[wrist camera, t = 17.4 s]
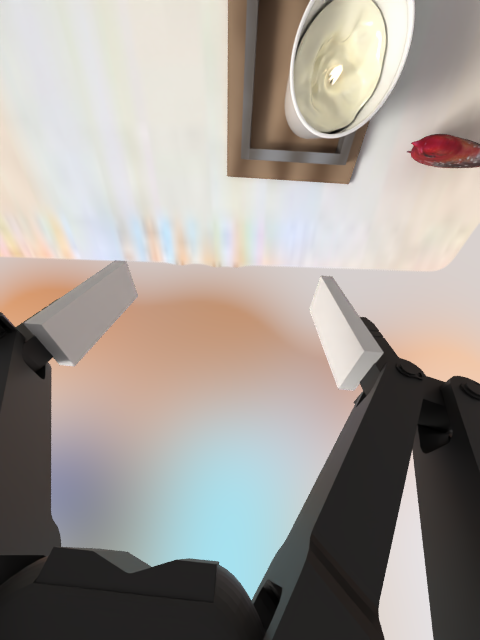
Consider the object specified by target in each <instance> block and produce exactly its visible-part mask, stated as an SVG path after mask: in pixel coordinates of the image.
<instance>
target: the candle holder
mask: <svg viewBox="0 0 480 640" xmlns="http://www.w3.org/2000/svg"><path fill="white" fill-rule="evenodd" d="M414 22H415V0H310V2H309V4H308V6H307V8H306V10H305V12H304V14H303V17H302V19H301V22H300V24H299V27H298V30H297V33H296V37H295V41H294V45H293V50H292V55H291V63H290V69H289V74H288V79H287V84H286V90H285V98H284V109H285V116H286V120H287V123H288V125H289V127H290V129H291V130H292V131H293V133H294V134H295V135H297V136H298V137H300V138H302V139H307V140H314V139H324V138H328V139H332V138H339V137H343V136H346V135H348V134H350V133H352V132H354V131H356V130H357V129H359V128H360V127H362V126H363V125H364V124H365V123H367V122H368V121H369V120H370V119H371V118H372V117H373V116H374V115H375V114H376V113H377V112H378V110H379V109H380V108H381V107H382V105H383V104H384V103H385V101H386V100H387V98H388V97H389V95H390V94H391V92H392V90H393V89H394V87H395V85H396V83H397V81H398V79H399V77H400V75H401V72H402V70H403V68H404V65H405V62H406V59H407V56H408V53H409V50H410V46H411V41H412V37H413V31H414Z"/></svg>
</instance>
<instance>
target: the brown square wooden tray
mask: <svg viewBox="0 0 480 640" xmlns="http://www.w3.org/2000/svg"><path fill="white" fill-rule="evenodd" d="M309 2H310V0H228V135H227V176H230V177H246V178H262V179H277V180H293V181H309V182H325V183H340V184H349V181H350V178H351V175H352V172H353V169H354V166H355V163H356V160H357V157H358V154H359V151H360V148H361V145H362V142H363V139H364V136H365V133H366V130H367V127H368V124H369V121H370V120H369V121H368V122H367V123H365V124H364V125H363V126H362V127H360V128H359V129H357V130H356V131H354V132H352V133H350V134H348V135H346V136H343V137H339V138H332V139H328V138H324V139H314V140H307V139H302V138H300V137H298V136H297V135H295V134H294V133H293V131H292V130H291V129H290V127H289V125H288V123H287V120H286V116H285V109H284V98H285V90H286V84H287V79H288V74H289V69H290V63H291V55H292V50H293V45H294V41H295V37H296V33H297V30H298V27H299V24H300V22H301V19H302V17H303V14H304V12H305V10H306V8H307V6H308V4H309Z"/></svg>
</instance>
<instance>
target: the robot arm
mask: <svg viewBox="0 0 480 640" xmlns="http://www.w3.org/2000/svg"><path fill="white" fill-rule="evenodd" d="M137 297H138V294H137V292H136V289H135V285H134V283H133V280H132V277H131V274H130V271H129V268H128V265H127V262H126V261H114V262H112V263H111V264H110V265H108V266H107V267H105V268H104V269H102V270H101V271H99V272H98V273H96V274H95V275H93V276H92V277H90V278H89V279H87V280H86V281H85V282H83V283H82V284H80V285H79V286H77V287H76V288H74V289H73V290H71V291H70V292H68V293H67V294H65V295H64V296H62V297H61V298H59V299H57V300H55V301H54V302H52V303H51V304H50V305H49V306H47V307H45V308H44V309H42V311H39V312H38V313H36V314H35V315H33V316H32V317H30V318H29V319H27V320H26V321H24V322H23V323H21V324H20V325H19V326H17V327H14V326H13V324H12V323H11V322H10V321H9V320H8V319H7V318H6V317H5V316H4V315H3V313H1V312H0V640H384V636H383V632H382V628H381V625H380V622H379V615H378V608H379V600H380V595H381V591H382V586H383V581H384V577H385V572H386V568H387V563H388V558H389V554H390V549H391V544H392V540H393V535H394V531H395V526H396V521H397V517H398V512H399V507H400V503H401V498H402V493H403V489H404V484H405V480H406V475H407V470H408V466H409V461H410V456H411V452H412V450H413V459H414V468H415V476H416V485H417V494H418V503H419V512H420V521H421V530H422V539H423V548H424V557H425V566H426V575H427V584H428V593H429V602H430V611H431V619H432V629H433V637H434V640H480V384H479V383H477V382H475V381H473V380H471V379H469V378H465V377H461V376H453V377H452V378H450V379H449V380H448V381H447V382H443V381H439V380H437V379H434V378H430V377H427V376H426V375H425V374H424V373H423V371H422V370H421V369H420V368H418V367H417V366H416V365H414V364H413V363H411V362H409V361H407V360H404V359H401V358H399V357H398V356H397V355H396V353H395V352H394V351H393V349H392V348H391V346H390V345H389V344H388V342H387V341H386V340H385V338H383V336H382V334H381V333H380V332H379V330H378V329H377V327H376V326H375V325H374V324H373V323H372V322H371V321H370V320H368V319H367V318H366V317H359V315H358V314H357V312H356V311H355V309H354V308H353V306H352V305H351V304H350V302H349V301H348V299H347V298H346V297H345V295H344V293H343V292H342V290H341V289H340V287H339V286H338V284H337V283H336V281H335V280H334V278H333V277H330V276H321V277H320V279H319V282H318V285H317V288H316V291H315V294H314V297H313V300H312V303H311V306H310V309H309V310H310V313H311V315H312V318H313V321H314V324H315V326H316V329H317V332H318V335H319V337H320V340H321V343H322V346H323V348H324V351H325V354H326V357H327V359H328V362H329V365H330V367H331V370H332V373H333V376H334V379H335V381H336V384H337V387H338V389H343V390H355V389H356V387H357V386H358V385H359V384H360V385H361V387H362V389H363V392H362V393H361V394H360V395H359V397H358V398H357V399H356V400H355V401H354V403H355V406H354V408H353V410H352V412H351V414H350V416H349V418H348V420H347V421H346V424H345V425H344V428H343V429H342V431H341V433H340V435H339V437H338V439H337V441H336V443H335V445H334V447H333V449H332V451H331V453H330V455H329V457H328V459H327V461H326V463H325V465H324V467H323V469H322V470H321V472H320V474H319V476H318V478H317V480H316V482H315V484H314V486H313V488H312V490H311V492H310V494H309V496H308V498H307V500H306V502H305V504H304V506H303V508H302V510H301V512H300V514H299V516H298V518H297V519H296V521H295V524H294V525H293V528H292V530H291V531H290V533H289V535H288V537H287V539H286V540H285V542H284V544H283V545H282V546H281V548H280V549H279V550H278V552H277V554H276V555H275V557H274V559H273V561H272V562H271V564H270V566H269V568H268V570H267V572H266V574H265V576H264V578H263V580H262V582H261V583H260V585H259V587H258V589H257V591H256V593H255V595H254V597H253V599H252V601H251V599H250V598H249V596H248V594H247V592H246V591H245V589H244V588H243V586H242V585H241V583H240V582H239V581H238V580H237V579H236V578H235V576H234V575H232V574H231V573H230V572H229V571H228V570H227V569H225V568H223V567H222V566H220V565H219V562H217V561H208V560H198V559H180V560H174V561H171V562H167V563H164V564H161V565H158V566H154V567H151V566H149V565H148V564H146V563H144V562H143V561H141V560H140V559H138V558H136V557H135V556H133V555H131V554H130V553H128V552H124V551H114V550H104V549H92V548H70V547H61V539H60V533H59V530H58V527H57V525H56V524H55V522H54V521H53V519H52V515H51V366H50V364H49V363H48V361H49V360H50V359H51V358H54V359H55V360H56V361H57V362H58V364H59V365H66V366H75V365H76V364H77V363H78V362H79V361H80V360H81V359H82V358H83V357H84V355H85V354H86V353H87V352H88V351H89V350H90V349H91V348H92V347H93V345H94V344H95V343H96V342H97V341H98V340H99V339H100V338H101V337H102V335H103V334H104V333H105V332H106V331H107V330H108V329H109V328H110V327H111V325H112V324H113V323H114V322H115V321H116V320H117V319H118V318H119V317H120V315H121V314H122V313H123V312H124V311H125V310H126V309H127V308H128V306H129V305H130V304H131V303H132V302H133V301H134V300H135V299H136V298H137Z"/></svg>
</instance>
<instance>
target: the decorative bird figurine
mask: <svg viewBox="0 0 480 640" xmlns="http://www.w3.org/2000/svg"><path fill="white" fill-rule="evenodd" d="M411 144H413V145H414V147H413V148H412V151H407V152H409V153H411V156H412V158H413V159H414V160H416V161H417V162H419V163H422V164H425V165H429V166H434V167H441V168H473V167H480V144H478V143H476V142H473V141H470V140H466V139H463V138H459V137H454V136H451V135H446V134H435V135H430V136H426V137H424V138H422V139H421V140H419V141H416V142H412V143H411Z"/></svg>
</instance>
